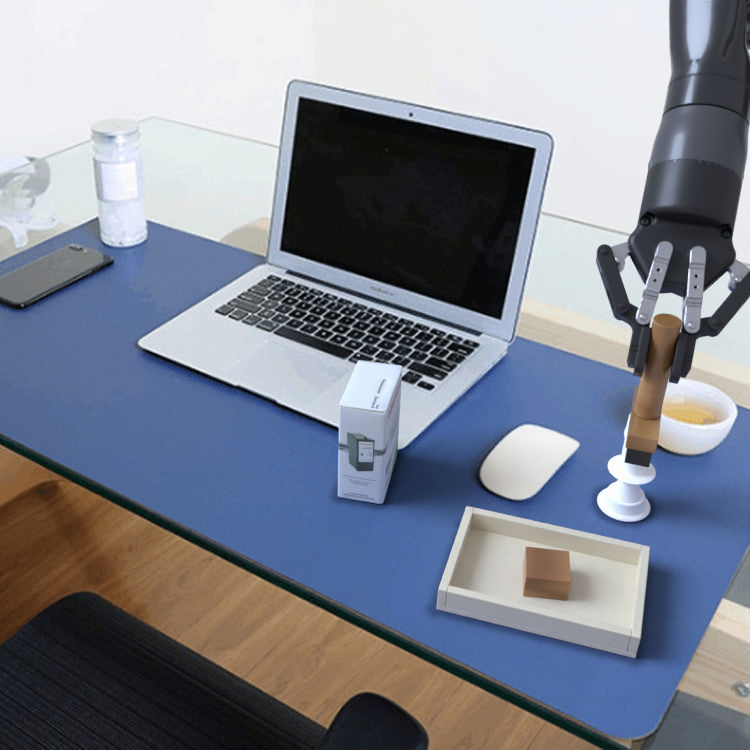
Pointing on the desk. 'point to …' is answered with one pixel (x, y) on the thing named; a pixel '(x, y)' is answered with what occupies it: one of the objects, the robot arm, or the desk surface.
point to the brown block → (546, 573)
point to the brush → (652, 391)
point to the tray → (540, 615)
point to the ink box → (369, 431)
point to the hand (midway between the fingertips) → (656, 377)
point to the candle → (626, 489)
